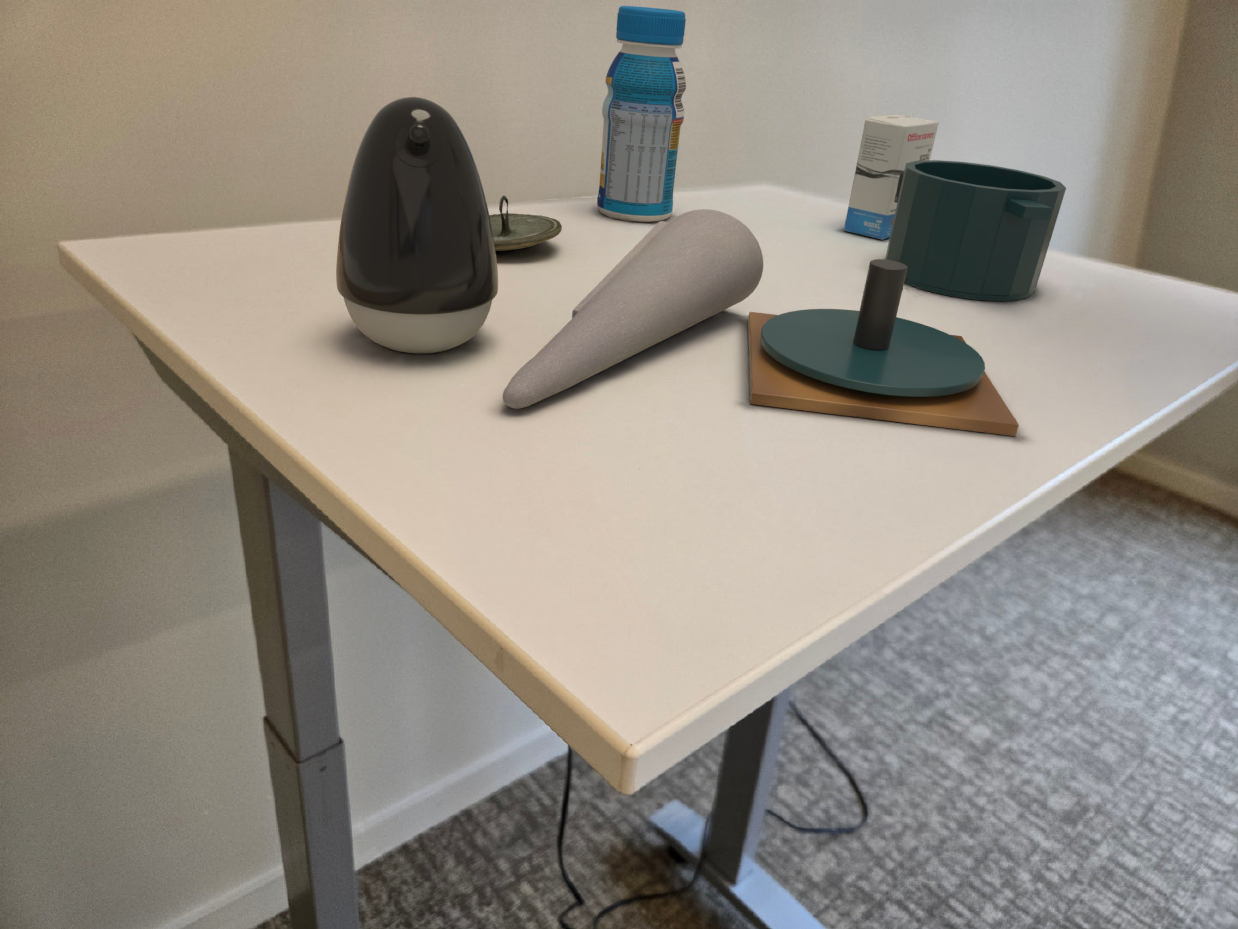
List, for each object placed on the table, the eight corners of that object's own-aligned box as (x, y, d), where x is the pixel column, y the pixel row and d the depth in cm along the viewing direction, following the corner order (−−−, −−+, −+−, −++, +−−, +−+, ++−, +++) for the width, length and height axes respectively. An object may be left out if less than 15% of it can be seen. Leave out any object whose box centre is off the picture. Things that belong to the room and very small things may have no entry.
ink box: (882, 241, 98) (907, 124, 92) (841, 230, 101) (863, 117, 95) (916, 230, 104) (941, 120, 98) (876, 221, 107) (899, 113, 101)
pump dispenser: (337, 371, 56) (320, 104, 49) (342, 314, 65) (328, 81, 57) (506, 369, 58) (512, 115, 51) (488, 314, 67) (492, 91, 60)
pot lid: (921, 326, 70) (943, 239, 67) (1023, 407, 58) (1056, 304, 54) (734, 320, 68) (748, 230, 65) (798, 404, 55) (818, 296, 52)
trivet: (959, 345, 70) (962, 335, 69) (1015, 436, 55) (1019, 424, 55) (747, 321, 71) (749, 311, 70) (750, 404, 56) (752, 392, 56)
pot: (974, 253, 96) (999, 159, 92) (1080, 313, 80) (1117, 202, 75) (852, 248, 94) (871, 151, 90) (935, 308, 78) (963, 194, 73)
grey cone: (638, 373, 48) (770, 220, 67) (491, 335, 50) (660, 199, 70) (629, 493, 52) (756, 316, 72) (494, 453, 54) (652, 293, 74)
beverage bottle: (621, 225, 94) (639, 8, 85) (581, 206, 101) (593, 2, 91) (688, 221, 99) (712, 14, 89) (645, 203, 105) (664, 8, 95)
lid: (574, 275, 83) (588, 219, 81) (477, 256, 76) (491, 195, 75) (517, 249, 90) (529, 198, 89) (424, 230, 84) (436, 175, 83)
